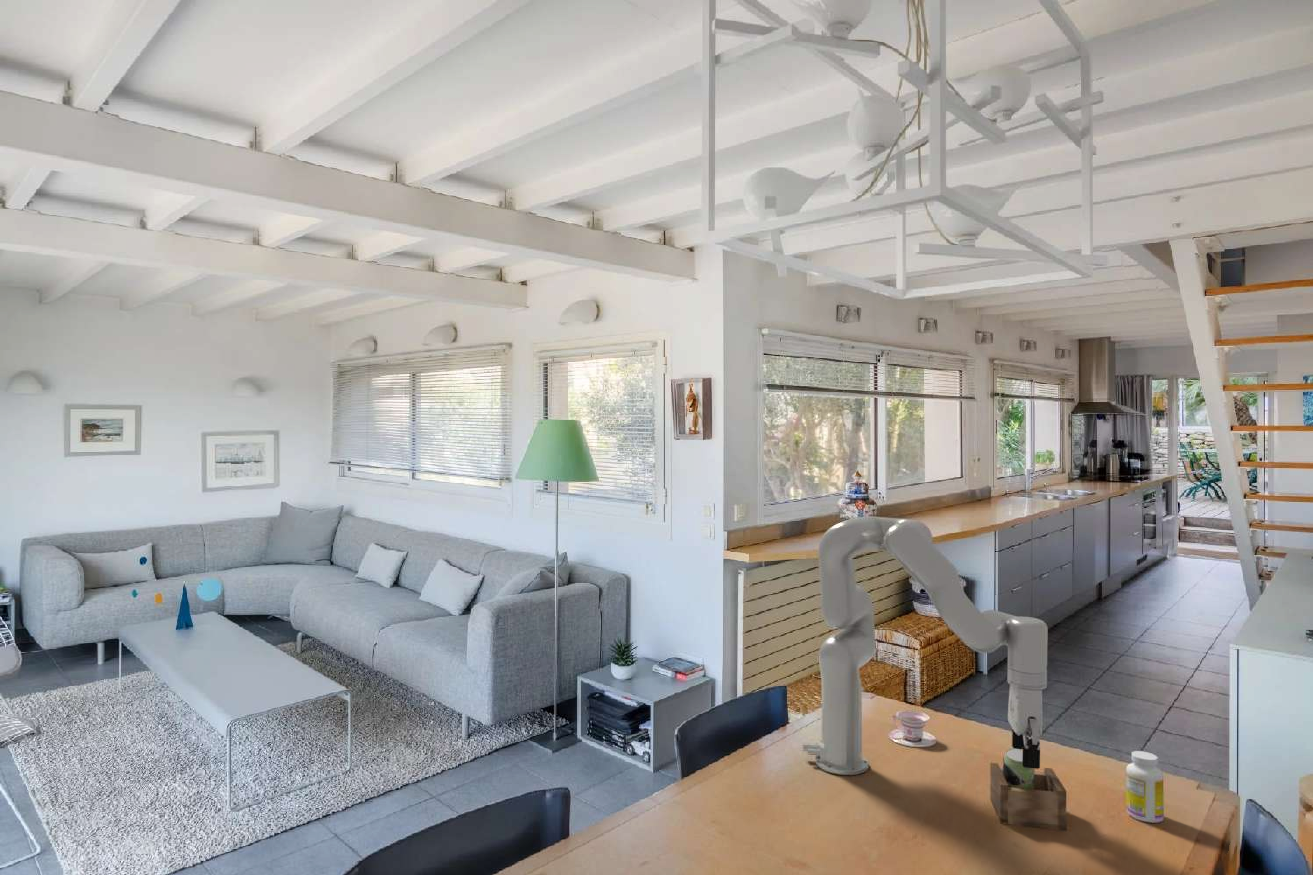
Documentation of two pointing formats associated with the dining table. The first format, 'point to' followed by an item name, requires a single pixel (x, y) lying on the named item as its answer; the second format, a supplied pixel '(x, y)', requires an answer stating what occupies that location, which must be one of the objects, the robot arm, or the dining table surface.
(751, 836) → the dining table surface
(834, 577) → the robot arm
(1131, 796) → the supplement bottle
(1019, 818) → the holder
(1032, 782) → the beverage can
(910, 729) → the teacup
